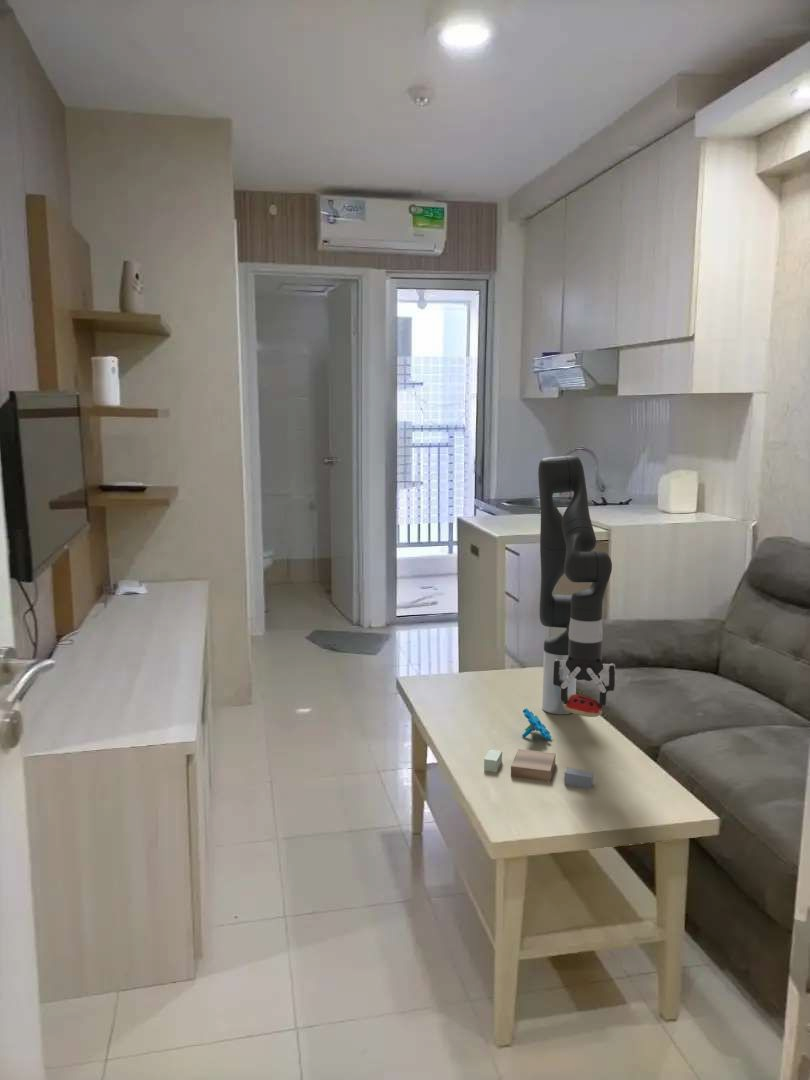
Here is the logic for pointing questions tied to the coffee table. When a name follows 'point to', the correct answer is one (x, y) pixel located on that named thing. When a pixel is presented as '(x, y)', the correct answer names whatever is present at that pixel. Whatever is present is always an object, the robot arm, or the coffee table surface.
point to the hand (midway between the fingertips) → (583, 704)
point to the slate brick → (578, 778)
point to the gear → (535, 725)
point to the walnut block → (533, 765)
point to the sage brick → (493, 760)
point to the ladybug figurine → (583, 706)
